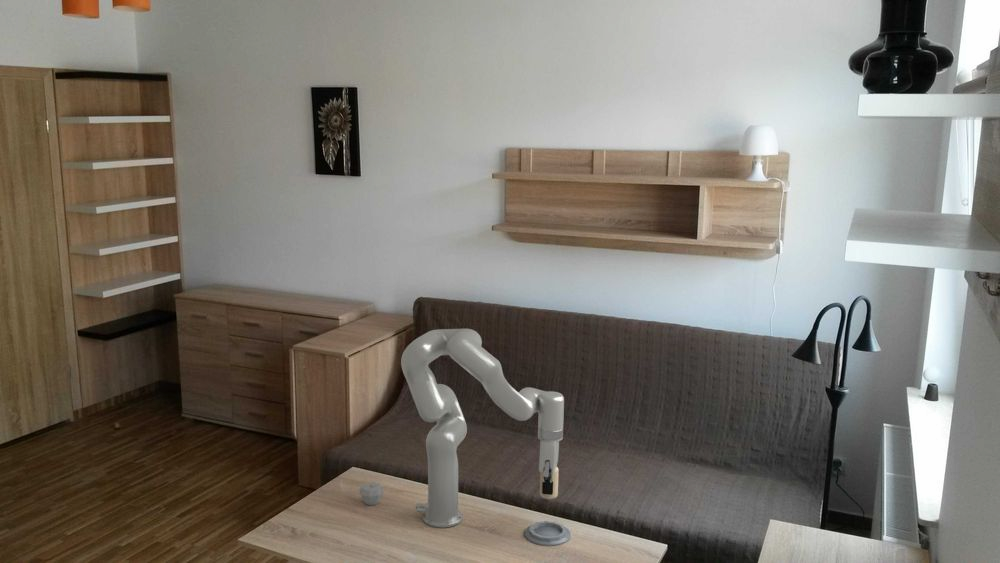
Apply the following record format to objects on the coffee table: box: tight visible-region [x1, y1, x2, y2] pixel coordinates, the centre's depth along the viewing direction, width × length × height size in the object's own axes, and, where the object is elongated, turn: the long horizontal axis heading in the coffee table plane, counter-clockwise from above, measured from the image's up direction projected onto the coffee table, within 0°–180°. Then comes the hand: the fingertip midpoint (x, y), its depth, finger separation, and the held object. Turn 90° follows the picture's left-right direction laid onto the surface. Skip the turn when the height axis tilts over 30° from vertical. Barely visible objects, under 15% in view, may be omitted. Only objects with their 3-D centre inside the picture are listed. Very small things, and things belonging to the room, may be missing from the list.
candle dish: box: [524, 520, 571, 547], centre depth 254 cm, size 14×14×2 cm
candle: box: [539, 466, 560, 500], centre depth 251 cm, size 6×6×10 cm
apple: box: [359, 481, 384, 506], centre depth 274 cm, size 8×8×7 cm
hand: (548, 489), depth 252 cm, fingers closed on candle, 5 cm apart
